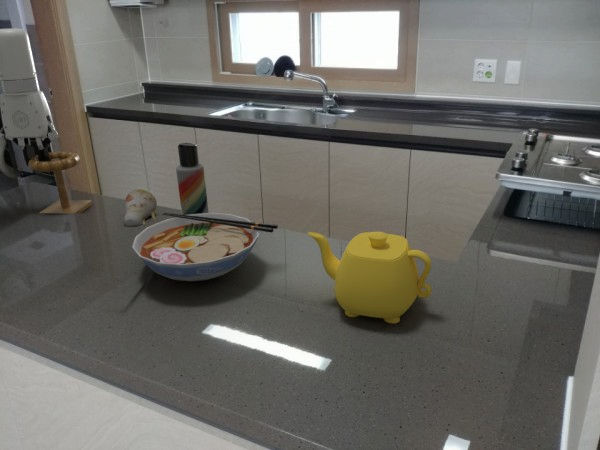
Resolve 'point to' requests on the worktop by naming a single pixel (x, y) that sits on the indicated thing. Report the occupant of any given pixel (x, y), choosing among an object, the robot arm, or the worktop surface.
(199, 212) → the lotion bottle
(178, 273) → the ramen bowl
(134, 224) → the white round figurine
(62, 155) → the ring
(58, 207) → the peg stand
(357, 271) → the teapot
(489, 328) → the worktop surface
